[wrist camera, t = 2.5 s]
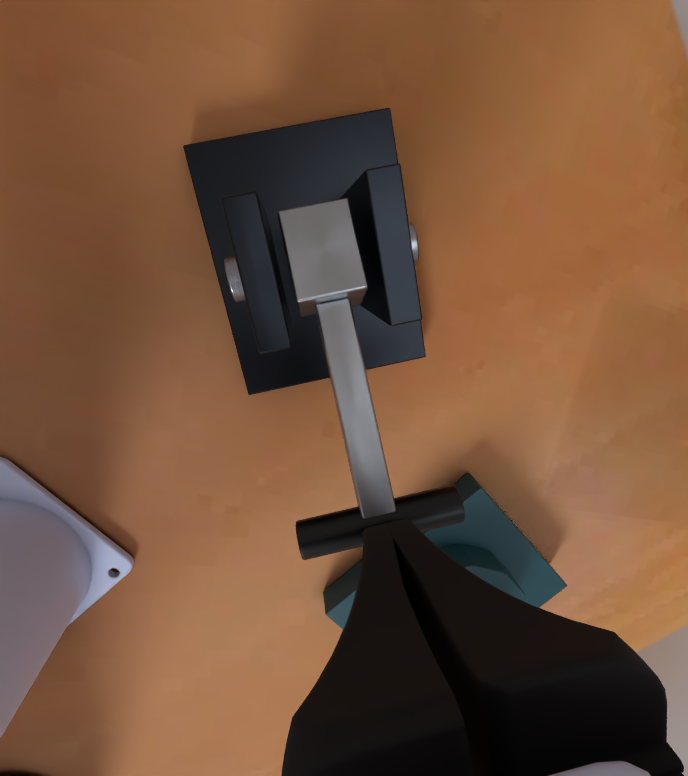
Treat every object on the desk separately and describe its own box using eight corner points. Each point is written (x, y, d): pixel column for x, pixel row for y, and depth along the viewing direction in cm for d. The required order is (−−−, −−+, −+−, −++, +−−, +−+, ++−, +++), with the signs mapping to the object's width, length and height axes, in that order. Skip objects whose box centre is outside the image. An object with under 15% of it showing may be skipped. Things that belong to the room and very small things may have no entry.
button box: (414, 671, 27) (431, 730, 24) (322, 591, 25) (328, 643, 22) (550, 565, 26) (589, 610, 23) (468, 471, 24) (497, 506, 21)
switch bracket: (418, 351, 22) (480, 396, 15) (250, 388, 21) (233, 451, 14) (383, 116, 19) (440, 35, 12) (188, 152, 19) (129, 89, 12)
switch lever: (452, 512, 16) (475, 531, 14) (304, 547, 16) (301, 573, 13) (386, 218, 16) (398, 187, 14) (240, 247, 16) (225, 220, 14)
